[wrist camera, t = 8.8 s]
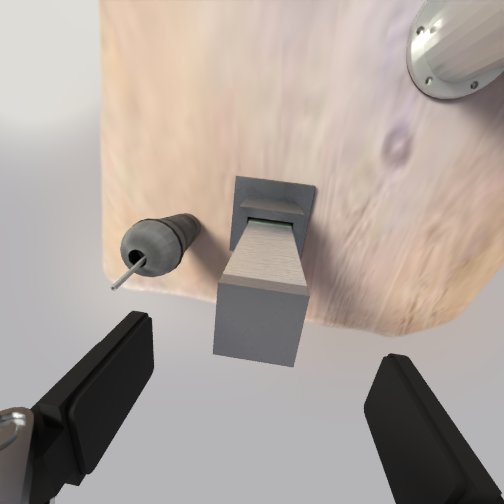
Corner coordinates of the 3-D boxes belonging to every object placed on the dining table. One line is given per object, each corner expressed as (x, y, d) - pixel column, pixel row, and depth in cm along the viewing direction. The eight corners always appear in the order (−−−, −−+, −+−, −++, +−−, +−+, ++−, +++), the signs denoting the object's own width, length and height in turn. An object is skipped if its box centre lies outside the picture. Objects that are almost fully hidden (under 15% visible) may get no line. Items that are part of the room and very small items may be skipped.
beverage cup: (204, 203, 38) (136, 235, 19) (211, 245, 41) (156, 310, 22) (162, 206, 39) (58, 241, 20) (171, 247, 41) (85, 312, 23)
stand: (314, 185, 36) (334, 193, 24) (299, 257, 40) (310, 296, 28) (237, 175, 36) (217, 178, 24) (230, 247, 40) (211, 281, 28)
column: (288, 215, 30) (311, 295, 11) (282, 247, 32) (293, 368, 12) (253, 210, 30) (217, 281, 11) (250, 243, 32) (211, 354, 13)
